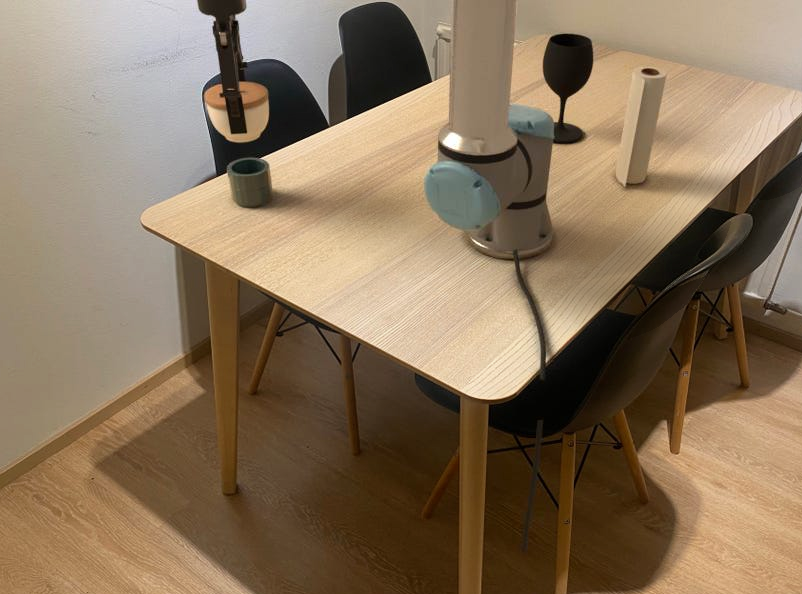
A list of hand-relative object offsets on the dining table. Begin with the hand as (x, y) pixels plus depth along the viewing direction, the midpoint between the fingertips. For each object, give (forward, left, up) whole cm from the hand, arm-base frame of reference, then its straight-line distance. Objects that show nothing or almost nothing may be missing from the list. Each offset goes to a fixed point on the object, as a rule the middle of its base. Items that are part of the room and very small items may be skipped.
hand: (240, 119), depth 135 cm
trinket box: (0, 0, -3) cm, 3 cm away
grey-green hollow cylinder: (0, 0, -15) cm, 15 cm away
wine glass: (+21, -66, -5) cm, 70 cm away
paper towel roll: (-1, -74, -16) cm, 76 cm away
